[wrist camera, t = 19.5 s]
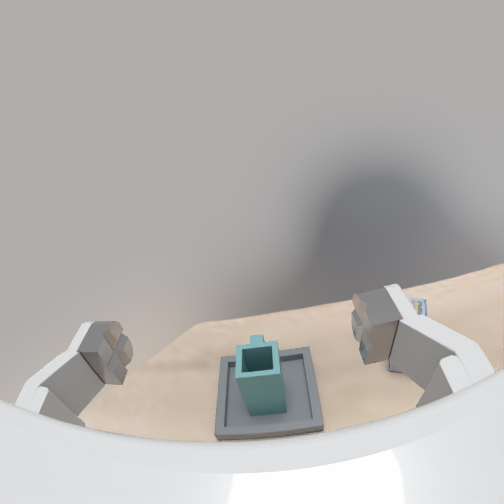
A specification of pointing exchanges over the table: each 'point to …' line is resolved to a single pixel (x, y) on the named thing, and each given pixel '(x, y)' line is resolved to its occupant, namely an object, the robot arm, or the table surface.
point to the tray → (273, 425)
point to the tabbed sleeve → (260, 376)
